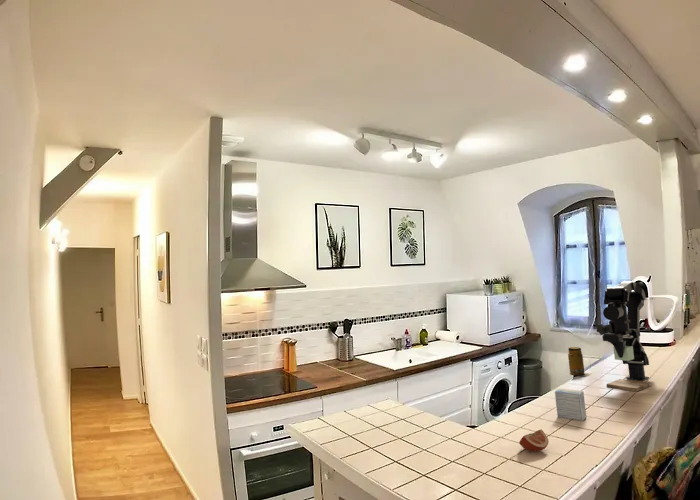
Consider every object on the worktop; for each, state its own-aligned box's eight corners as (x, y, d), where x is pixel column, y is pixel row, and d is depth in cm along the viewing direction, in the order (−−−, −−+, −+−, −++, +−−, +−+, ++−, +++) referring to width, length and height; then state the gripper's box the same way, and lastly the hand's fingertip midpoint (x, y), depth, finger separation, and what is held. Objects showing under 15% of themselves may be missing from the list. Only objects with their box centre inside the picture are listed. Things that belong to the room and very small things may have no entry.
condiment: (573, 371, 206) (570, 346, 207) (592, 373, 200) (589, 347, 200) (566, 374, 201) (563, 348, 202) (585, 377, 195) (582, 349, 196)
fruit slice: (533, 443, 125) (531, 425, 125) (555, 450, 119) (553, 431, 119) (515, 451, 120) (513, 433, 121) (536, 458, 115) (535, 439, 115)
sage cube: (621, 357, 179) (619, 345, 179) (634, 358, 175) (632, 346, 175) (614, 359, 176) (613, 347, 177) (628, 360, 172) (626, 348, 173)
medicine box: (587, 417, 143) (583, 390, 143) (583, 421, 140) (579, 393, 140) (561, 414, 148) (558, 388, 149) (557, 417, 145) (554, 391, 146)
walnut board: (620, 381, 182) (619, 379, 182) (649, 386, 173) (649, 383, 173) (606, 387, 176) (606, 384, 176) (636, 391, 167) (635, 388, 167)
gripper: (610, 314, 189) (614, 351, 188) (587, 319, 179) (591, 358, 177) (638, 315, 179) (643, 353, 178) (615, 320, 169) (620, 361, 168)
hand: (624, 356), depth 176 cm, fingers closed on sage cube, 5 cm apart
